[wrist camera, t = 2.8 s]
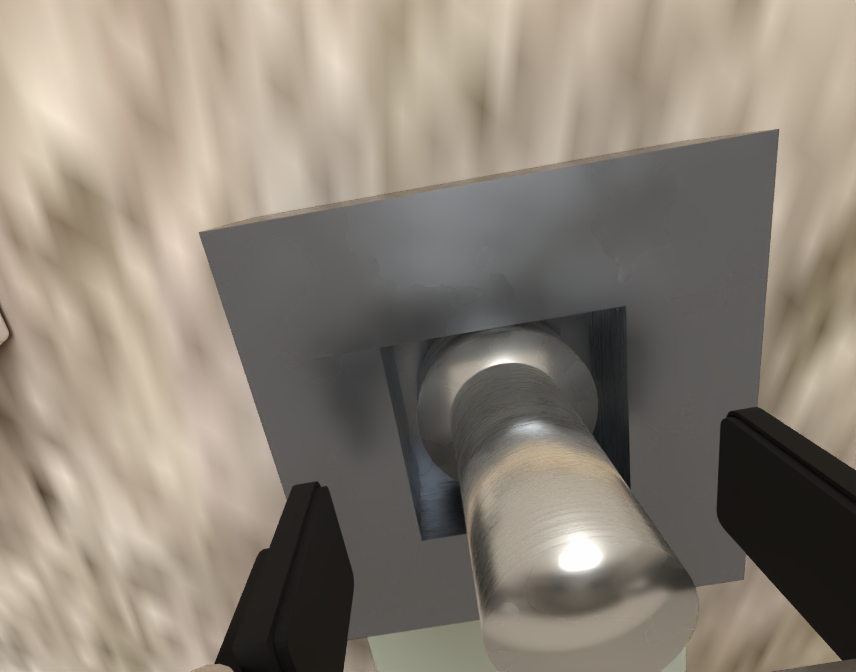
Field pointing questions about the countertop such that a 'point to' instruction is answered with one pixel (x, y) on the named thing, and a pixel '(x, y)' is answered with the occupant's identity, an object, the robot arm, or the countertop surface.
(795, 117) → the countertop surface
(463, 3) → the countertop surface
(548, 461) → the grey rounded knob
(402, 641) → the mat
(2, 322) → the jar
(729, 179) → the housing
